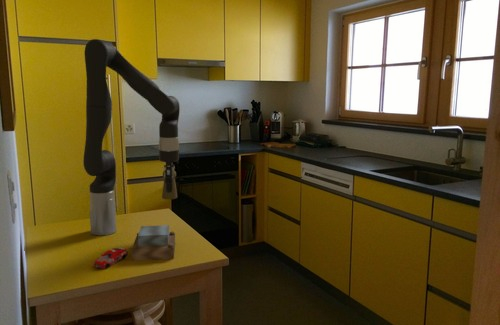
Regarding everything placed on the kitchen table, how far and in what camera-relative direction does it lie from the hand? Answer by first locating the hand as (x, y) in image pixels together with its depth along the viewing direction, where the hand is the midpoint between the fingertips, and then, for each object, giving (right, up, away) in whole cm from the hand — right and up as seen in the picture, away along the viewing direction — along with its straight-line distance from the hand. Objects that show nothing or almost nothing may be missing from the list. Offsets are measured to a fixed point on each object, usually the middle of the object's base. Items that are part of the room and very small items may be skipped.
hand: (169, 191), depth 163 cm
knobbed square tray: (-3, -21, -13) cm, 25 cm away
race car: (-16, -23, -22) cm, 35 cm away
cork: (0, -2, 0) cm, 3 cm away
